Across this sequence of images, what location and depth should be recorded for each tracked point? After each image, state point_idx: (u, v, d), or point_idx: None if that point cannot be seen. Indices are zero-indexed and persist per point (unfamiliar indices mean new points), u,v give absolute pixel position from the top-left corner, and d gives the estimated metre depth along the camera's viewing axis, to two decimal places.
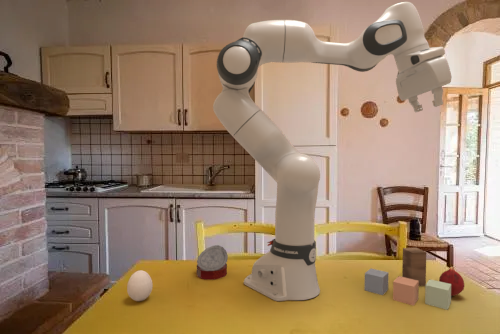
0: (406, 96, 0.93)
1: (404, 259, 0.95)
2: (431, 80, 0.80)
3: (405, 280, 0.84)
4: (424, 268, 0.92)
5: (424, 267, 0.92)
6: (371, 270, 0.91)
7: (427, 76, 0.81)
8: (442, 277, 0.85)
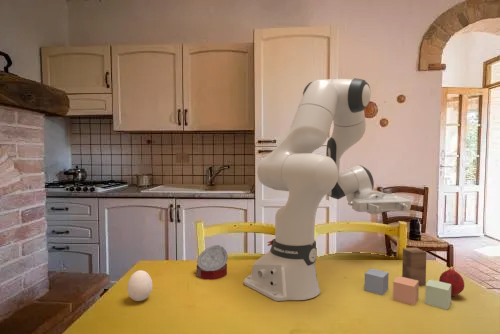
0: (368, 201, 1.10)
1: (404, 259, 0.95)
2: (401, 199, 1.13)
3: (405, 280, 0.84)
4: (424, 268, 0.92)
5: (424, 267, 0.92)
6: (371, 270, 0.91)
7: (397, 199, 1.14)
8: (442, 277, 0.85)
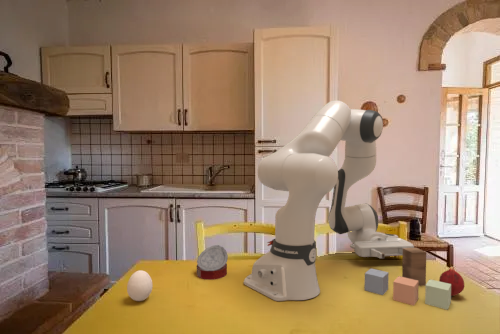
0: (371, 245, 1.08)
1: (404, 259, 0.95)
2: (404, 243, 1.11)
3: (405, 280, 0.84)
4: (424, 268, 0.92)
5: (424, 267, 0.92)
6: (371, 270, 0.91)
7: (399, 242, 1.12)
8: (442, 277, 0.85)
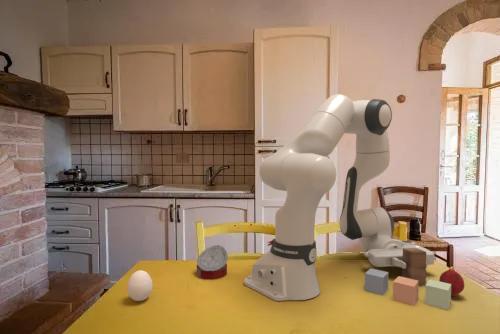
0: (387, 254, 0.98)
1: (404, 259, 0.95)
2: None
3: (405, 280, 0.84)
4: (424, 268, 0.92)
5: (424, 267, 0.92)
6: (371, 270, 0.91)
7: None
8: (442, 277, 0.85)
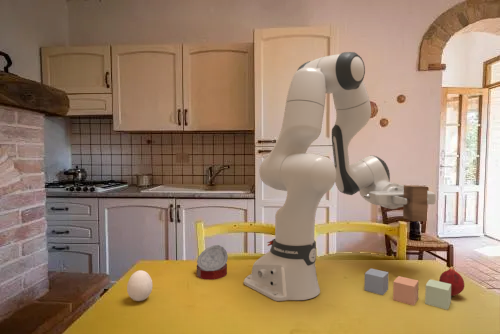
0: (388, 193, 0.97)
1: (405, 196, 0.94)
2: None
3: (405, 280, 0.84)
4: (425, 203, 0.91)
5: (425, 202, 0.91)
6: (371, 270, 0.91)
7: None
8: (442, 277, 0.85)
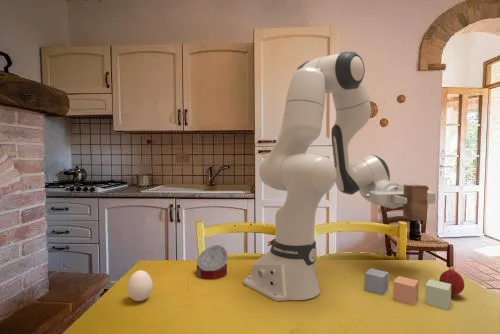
0: (388, 192, 0.97)
1: (405, 195, 0.94)
2: None
3: (405, 280, 0.84)
4: (425, 202, 0.91)
5: (425, 201, 0.91)
6: (371, 270, 0.91)
7: None
8: (442, 277, 0.85)
